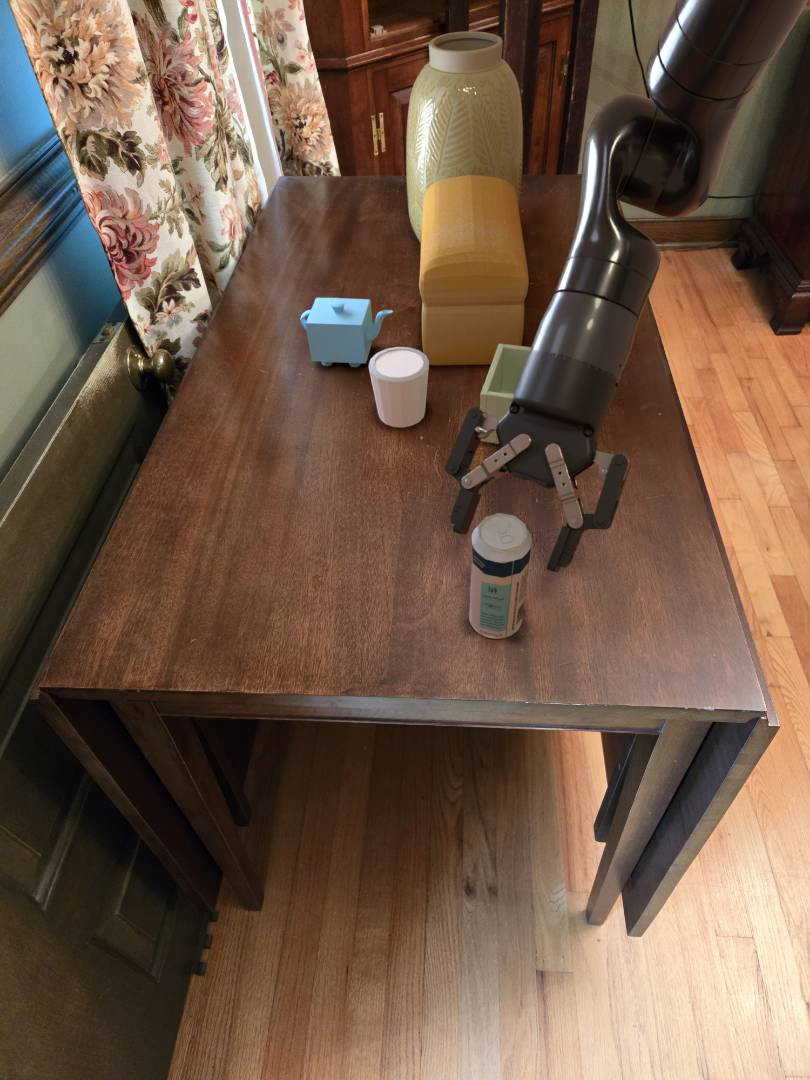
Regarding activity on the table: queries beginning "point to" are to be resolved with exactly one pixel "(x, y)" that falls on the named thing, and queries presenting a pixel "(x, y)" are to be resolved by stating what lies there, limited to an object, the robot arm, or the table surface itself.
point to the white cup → (400, 385)
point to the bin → (502, 382)
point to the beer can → (499, 575)
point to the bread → (471, 270)
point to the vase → (463, 118)
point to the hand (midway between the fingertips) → (505, 551)
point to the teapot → (341, 330)
